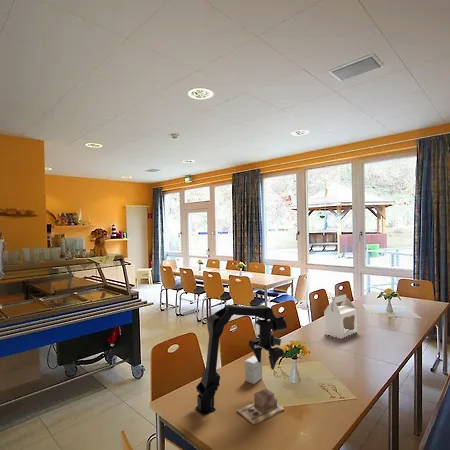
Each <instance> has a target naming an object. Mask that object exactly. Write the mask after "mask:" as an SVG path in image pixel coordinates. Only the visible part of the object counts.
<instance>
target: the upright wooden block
mask: <svg viewBox="0 0 450 450" xmlns="http://www.w3.org/2000/svg"><path fill="white" fill-rule="evenodd" d="M253 395H254V397H253V403H254V407H255V408H256V409H257V410H259V411H260V412H262V413H263V412H265V411H267V410H270V409H272V408H274V397H275V392H273V391H272V390H269V389H268V388H264V389H262V390H260V391H257V392H254V393H253Z"/></svg>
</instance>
